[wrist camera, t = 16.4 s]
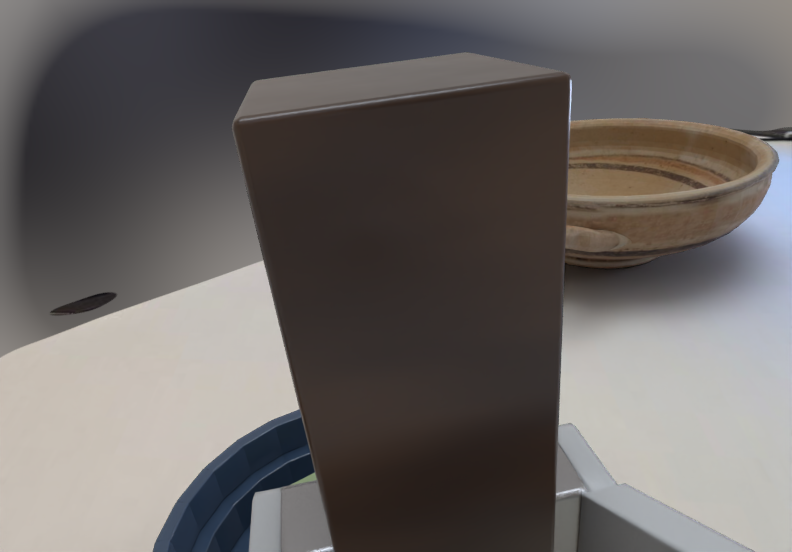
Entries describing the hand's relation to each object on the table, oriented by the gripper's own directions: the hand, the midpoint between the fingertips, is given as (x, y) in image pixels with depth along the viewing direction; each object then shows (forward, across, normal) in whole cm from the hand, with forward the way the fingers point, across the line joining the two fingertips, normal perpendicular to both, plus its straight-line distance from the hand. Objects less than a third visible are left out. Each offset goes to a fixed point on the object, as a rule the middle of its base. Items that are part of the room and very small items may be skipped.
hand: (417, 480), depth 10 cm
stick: (-1, 0, +8) cm, 9 cm away
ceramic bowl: (+41, -28, +17) cm, 52 cm away
